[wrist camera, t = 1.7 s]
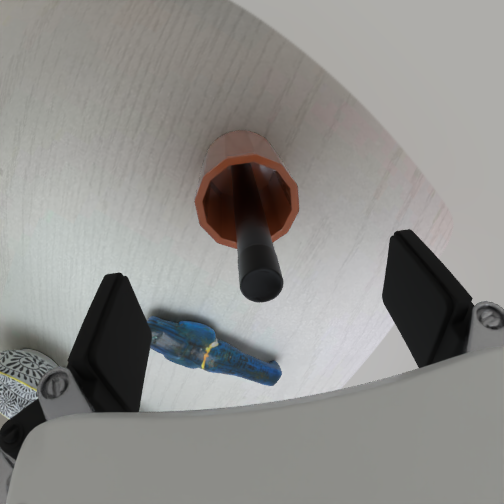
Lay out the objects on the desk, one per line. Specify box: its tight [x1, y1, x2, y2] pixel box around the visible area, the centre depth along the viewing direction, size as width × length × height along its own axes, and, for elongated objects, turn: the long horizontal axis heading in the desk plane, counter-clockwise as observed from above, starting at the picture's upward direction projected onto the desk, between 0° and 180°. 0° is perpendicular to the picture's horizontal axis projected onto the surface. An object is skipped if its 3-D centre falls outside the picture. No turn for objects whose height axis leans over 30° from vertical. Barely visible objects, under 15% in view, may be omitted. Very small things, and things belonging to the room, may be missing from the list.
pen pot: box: [195, 130, 299, 249], centre depth 19 cm, size 5×5×7 cm
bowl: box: [0, 349, 59, 419], centre depth 29 cm, size 16×16×8 cm
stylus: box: [231, 163, 283, 302], centre depth 16 cm, size 1×1×13 cm
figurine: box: [147, 316, 282, 386], centre depth 30 cm, size 5×4×15 cm
